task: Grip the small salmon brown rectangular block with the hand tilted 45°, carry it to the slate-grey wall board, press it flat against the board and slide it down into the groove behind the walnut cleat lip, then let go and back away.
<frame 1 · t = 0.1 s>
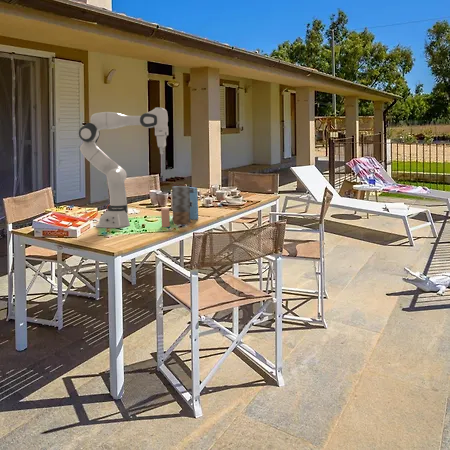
hand: (162, 153, 335), 48 cm above the table, tool pointing down, fingers open, 8 cm apart
salmon brown rectangular block: (165, 226, 338), on the table
gum box: (185, 218, 368), on the table
wall board with cleat: (181, 223, 347), on the table
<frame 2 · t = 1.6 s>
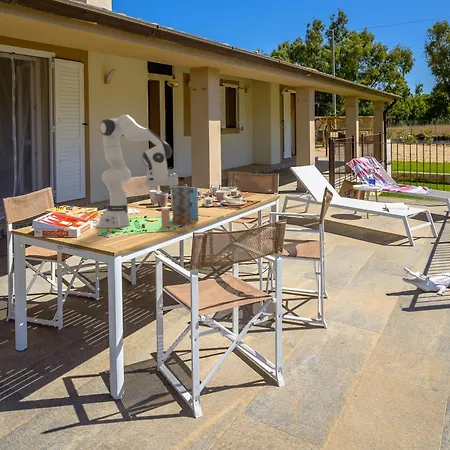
hand: (162, 188, 321), 27 cm above the table, tool tilted 45°, fingers open, 8 cm apart
nothing on the table moved.
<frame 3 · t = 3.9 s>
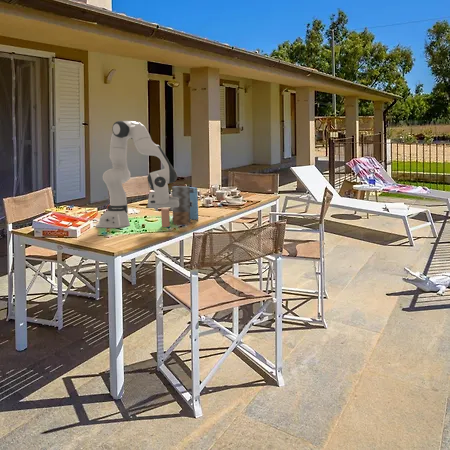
hand: (164, 209, 329), 12 cm above the table, tool tilted 45°, fingers open, 8 cm apart
nothing on the table moved.
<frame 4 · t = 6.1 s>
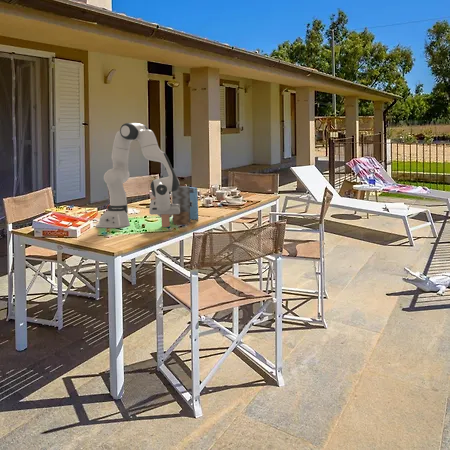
hand: (165, 216, 337), 7 cm above the table, tool tilted 45°, fingers closed on salmon brown rectangular block, 5 cm apart
salmon brown rectangular block: (165, 226, 338), on the table, touching gripper
everything else where it was.
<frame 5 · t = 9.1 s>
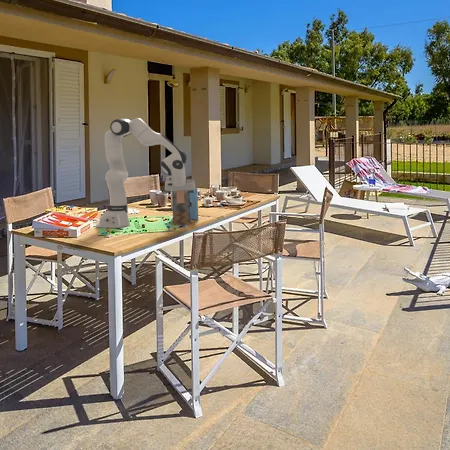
hand: (180, 193, 342), 21 cm above the table, tool tilted 45°, fingers closed on salmon brown rectangular block, 5 cm apart
salmon brown rectangular block: (180, 202, 342), point 15 cm above the table, touching gripper
everything else where it was.
when the fingers open (14 cm above the table, at t = 12.3 s): salmon brown rectangular block stays where it is, resting on wall board with cleat.
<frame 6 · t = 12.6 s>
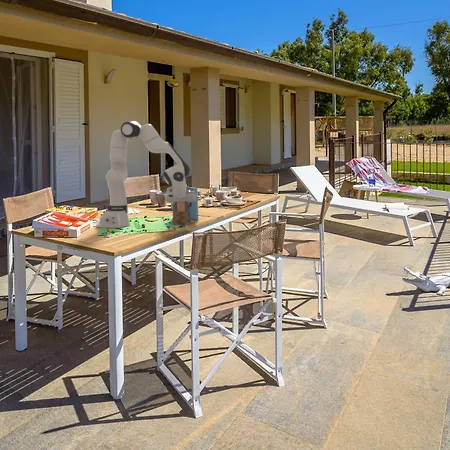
hand: (181, 203, 346), 14 cm above the table, tool tilted 45°, fingers open, 8 cm apart
salmon brown rectangular block: (181, 214, 347), point 6 cm above the table, touching wall board with cleat
everything else where it was.
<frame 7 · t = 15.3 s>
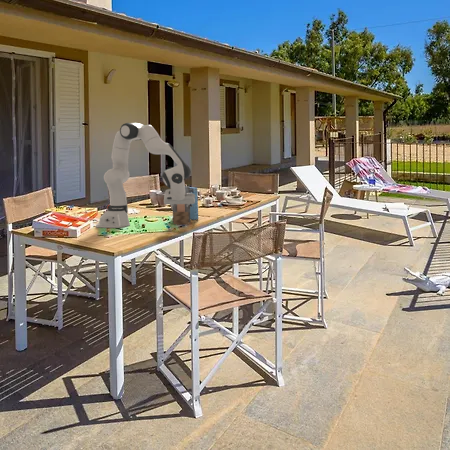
hand: (179, 206, 333), 14 cm above the table, tool tilted 45°, fingers open, 8 cm apart
nothing on the table moved.
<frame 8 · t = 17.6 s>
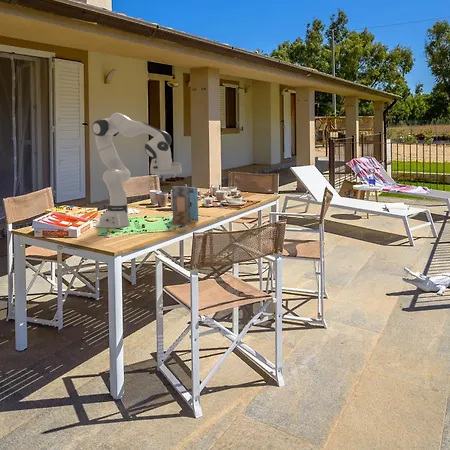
hand: (166, 177, 328), 33 cm above the table, tool tilted 45°, fingers open, 8 cm apart
nothing on the table moved.
at the end: salmon brown rectangular block inside the target area (0.6 cm from its centre), point 6.0 cm above the table; salmon brown rectangular block tilted 0°; the gripper is holding nothing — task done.
